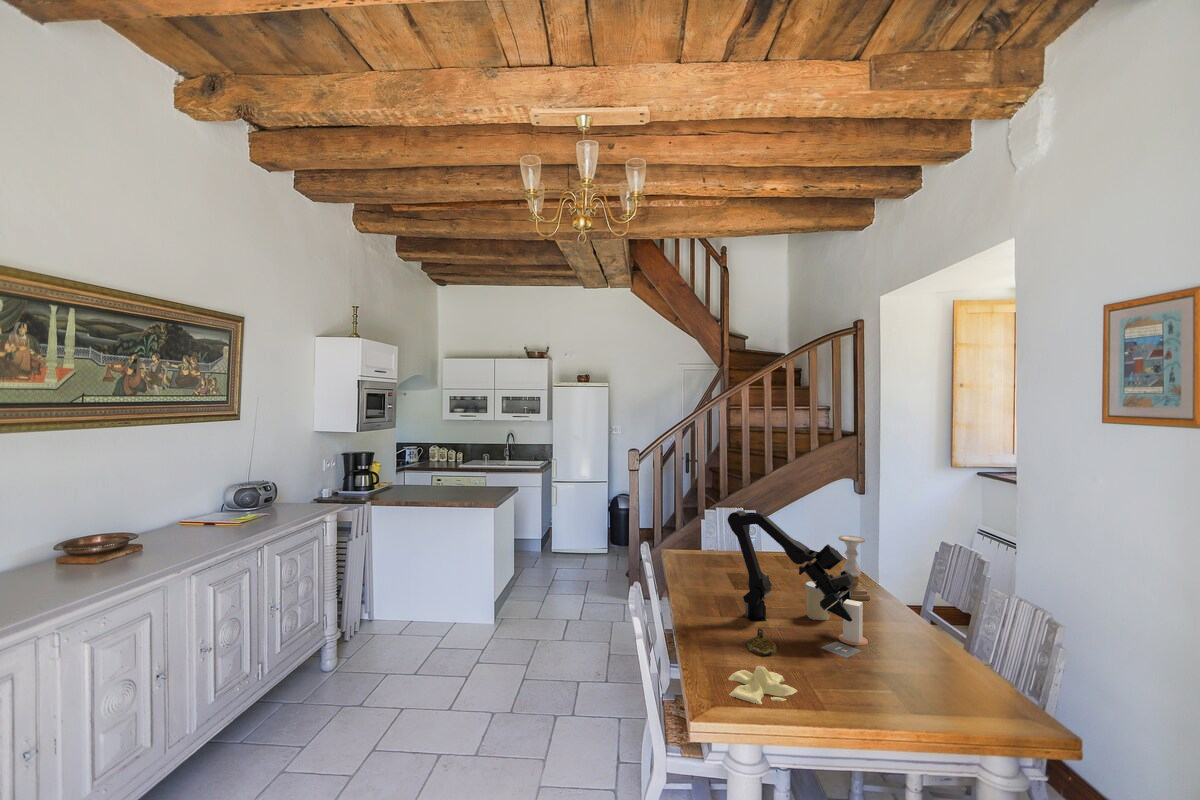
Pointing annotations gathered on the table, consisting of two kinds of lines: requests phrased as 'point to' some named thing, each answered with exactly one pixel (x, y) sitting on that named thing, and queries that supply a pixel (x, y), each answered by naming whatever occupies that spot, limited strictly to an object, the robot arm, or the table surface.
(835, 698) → the table surface
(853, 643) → the peach dome
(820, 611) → the coffee cup
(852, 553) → the candle holder
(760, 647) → the seal
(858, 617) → the ivory block
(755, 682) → the cloth
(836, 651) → the gray tile
